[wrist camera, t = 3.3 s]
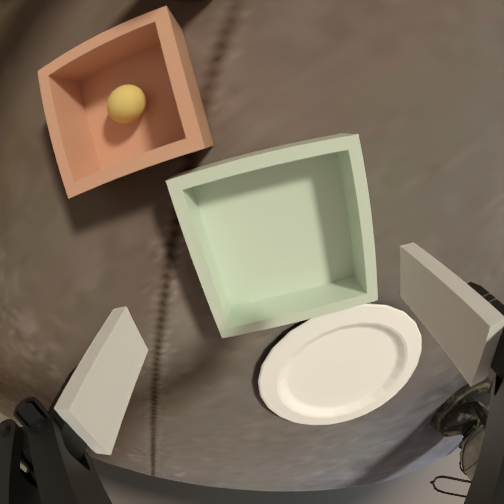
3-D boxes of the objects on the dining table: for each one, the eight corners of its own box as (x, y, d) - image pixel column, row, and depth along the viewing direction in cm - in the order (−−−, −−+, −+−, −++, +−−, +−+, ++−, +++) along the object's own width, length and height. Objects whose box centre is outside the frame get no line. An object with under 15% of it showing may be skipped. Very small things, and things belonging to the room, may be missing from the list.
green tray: (177, 173, 24) (165, 180, 20) (341, 133, 23) (358, 134, 19) (224, 313, 29) (222, 338, 26) (362, 279, 28) (377, 300, 25)
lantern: (485, 406, 42) (537, 501, 15) (412, 450, 45) (451, 558, 18) (495, 358, 36) (573, 476, 8) (406, 414, 39) (462, 560, 11)
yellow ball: (112, 95, 20) (95, 92, 18) (146, 81, 20) (132, 75, 17) (121, 129, 22) (105, 129, 19) (155, 115, 21) (142, 113, 19)
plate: (238, 409, 36) (238, 418, 34) (292, 277, 28) (294, 286, 27) (369, 418, 39) (371, 426, 37) (443, 311, 31) (450, 318, 29)
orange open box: (72, 78, 20) (37, 71, 15) (182, 29, 19) (166, 5, 14) (99, 184, 24) (68, 198, 19) (213, 145, 23) (205, 148, 18)
